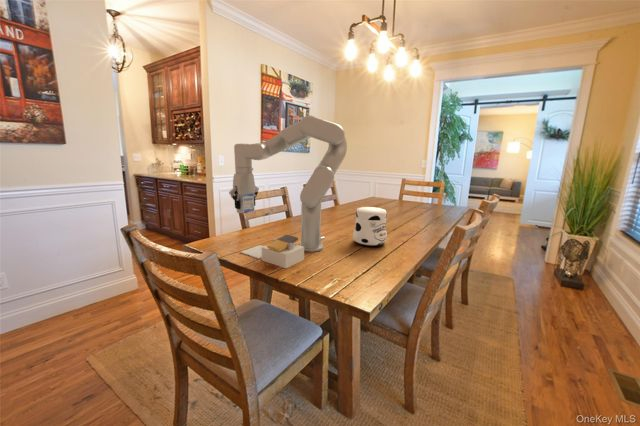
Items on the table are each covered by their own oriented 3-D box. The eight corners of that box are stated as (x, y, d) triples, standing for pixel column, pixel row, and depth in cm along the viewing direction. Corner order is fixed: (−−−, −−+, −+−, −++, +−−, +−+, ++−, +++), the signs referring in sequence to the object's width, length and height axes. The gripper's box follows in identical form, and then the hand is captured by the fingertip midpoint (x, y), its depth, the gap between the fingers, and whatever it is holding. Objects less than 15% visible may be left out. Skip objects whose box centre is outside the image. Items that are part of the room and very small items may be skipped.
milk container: (386, 250, 138) (389, 214, 134) (351, 247, 142) (353, 212, 138) (385, 239, 155) (388, 207, 151) (354, 236, 158) (355, 205, 154)
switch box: (280, 252, 132) (280, 234, 130) (304, 259, 124) (304, 241, 122) (261, 260, 123) (261, 241, 121) (285, 268, 115) (285, 248, 113)
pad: (260, 245, 140) (259, 244, 140) (277, 251, 133) (277, 250, 133) (240, 252, 130) (240, 251, 130) (258, 259, 124) (258, 258, 124)
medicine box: (243, 213, 131) (242, 195, 129) (236, 212, 133) (235, 194, 131) (254, 210, 138) (253, 193, 136) (247, 209, 140) (246, 192, 138)
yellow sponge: (286, 238, 129) (285, 234, 128) (298, 241, 125) (297, 237, 124) (267, 249, 120) (267, 245, 119) (279, 253, 116) (279, 249, 115)
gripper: (252, 169, 140) (254, 203, 144) (222, 171, 126) (225, 209, 130) (263, 170, 136) (264, 205, 140) (233, 172, 122) (235, 211, 126)
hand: (245, 206), depth 135 cm, fingers closed on medicine box, 8 cm apart
